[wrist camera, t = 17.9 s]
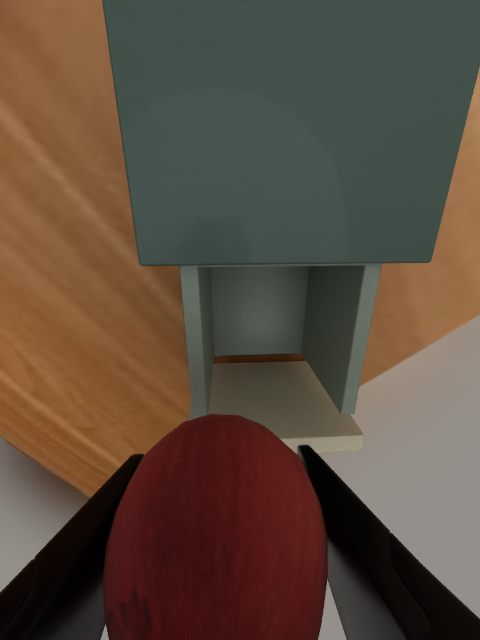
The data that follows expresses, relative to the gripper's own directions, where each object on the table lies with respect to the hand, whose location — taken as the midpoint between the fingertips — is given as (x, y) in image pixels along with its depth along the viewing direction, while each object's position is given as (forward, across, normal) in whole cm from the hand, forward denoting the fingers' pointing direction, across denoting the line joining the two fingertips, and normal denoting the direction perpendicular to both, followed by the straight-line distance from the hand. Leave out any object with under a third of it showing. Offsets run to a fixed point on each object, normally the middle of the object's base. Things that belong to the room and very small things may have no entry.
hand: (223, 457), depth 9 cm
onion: (+2, 0, 0) cm, 2 cm away
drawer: (+12, -3, +1) cm, 13 cm away
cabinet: (+13, -3, -13) cm, 19 cm away
